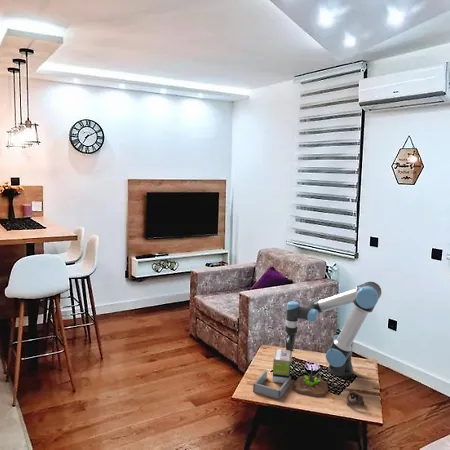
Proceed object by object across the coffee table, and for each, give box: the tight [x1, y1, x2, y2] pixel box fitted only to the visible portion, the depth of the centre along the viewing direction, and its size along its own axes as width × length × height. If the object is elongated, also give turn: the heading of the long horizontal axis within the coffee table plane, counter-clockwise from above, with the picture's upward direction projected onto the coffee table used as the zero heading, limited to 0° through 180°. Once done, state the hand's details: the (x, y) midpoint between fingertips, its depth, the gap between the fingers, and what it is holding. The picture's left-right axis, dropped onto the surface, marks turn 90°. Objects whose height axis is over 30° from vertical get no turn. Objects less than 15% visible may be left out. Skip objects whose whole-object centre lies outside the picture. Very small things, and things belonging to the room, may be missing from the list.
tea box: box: [272, 348, 292, 384], centre depth 279 cm, size 15×10×15 cm, turn 170°
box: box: [252, 369, 292, 400], centre depth 266 cm, size 16×19×5 cm
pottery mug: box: [345, 388, 365, 407], centre depth 253 cm, size 12×10×8 cm
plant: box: [292, 368, 329, 398], centre depth 268 cm, size 20×20×11 cm
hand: (289, 361), depth 292 cm, fingers closed
